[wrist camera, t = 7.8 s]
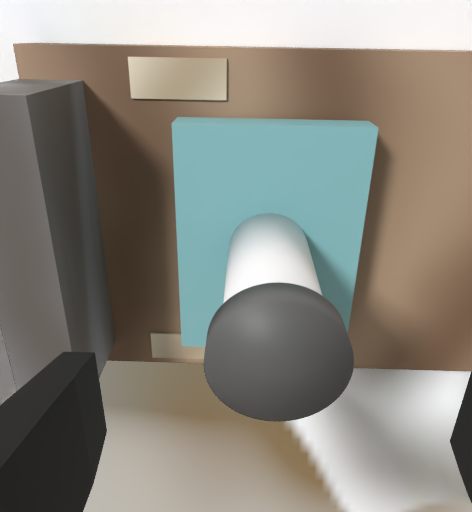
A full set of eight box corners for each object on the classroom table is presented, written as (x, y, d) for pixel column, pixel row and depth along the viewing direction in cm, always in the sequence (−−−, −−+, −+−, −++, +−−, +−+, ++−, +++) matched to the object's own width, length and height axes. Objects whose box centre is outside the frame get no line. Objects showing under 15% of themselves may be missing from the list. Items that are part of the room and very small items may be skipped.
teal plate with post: (186, 327, 18) (150, 487, 11) (177, 116, 14) (120, 181, 8) (339, 331, 18) (388, 495, 11) (368, 120, 14) (464, 188, 8)
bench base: (82, 336, 20) (28, 434, 15) (35, 43, 15) (-71, 46, 10) (485, 348, 20) (563, 452, 15) (578, 52, 15) (747, 61, 10)
